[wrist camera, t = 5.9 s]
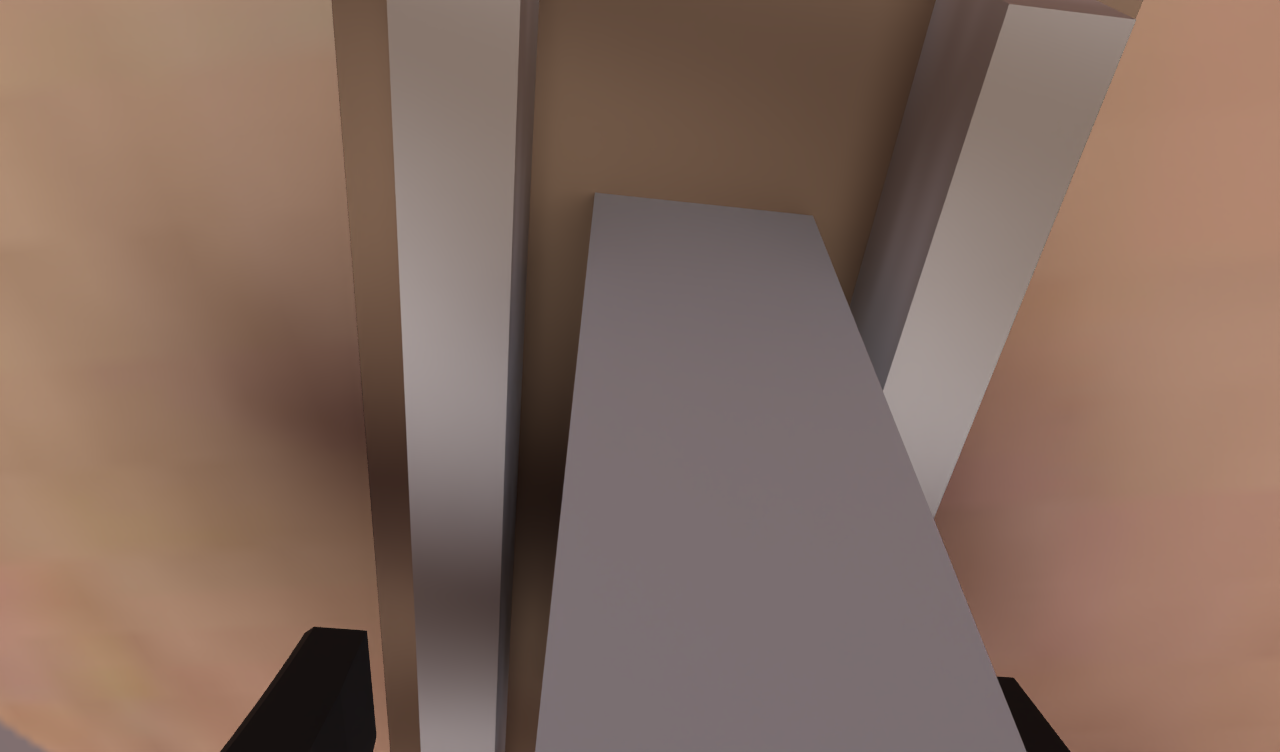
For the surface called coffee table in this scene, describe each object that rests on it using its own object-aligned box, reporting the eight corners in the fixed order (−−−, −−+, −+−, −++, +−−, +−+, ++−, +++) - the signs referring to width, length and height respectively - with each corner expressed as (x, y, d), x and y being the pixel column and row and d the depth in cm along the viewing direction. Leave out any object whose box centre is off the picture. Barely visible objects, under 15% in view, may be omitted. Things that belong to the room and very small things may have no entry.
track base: (791, 781, 21) (815, 942, 18) (410, 757, 20) (372, 919, 18) (1090, -34, 11) (1249, 33, 8) (360, -126, 10) (252, -90, 8)
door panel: (697, 699, 17) (734, 1294, 10) (550, 688, 17) (492, 1288, 10) (812, 215, 11) (1060, 835, 5) (594, 192, 11) (530, 804, 4)
